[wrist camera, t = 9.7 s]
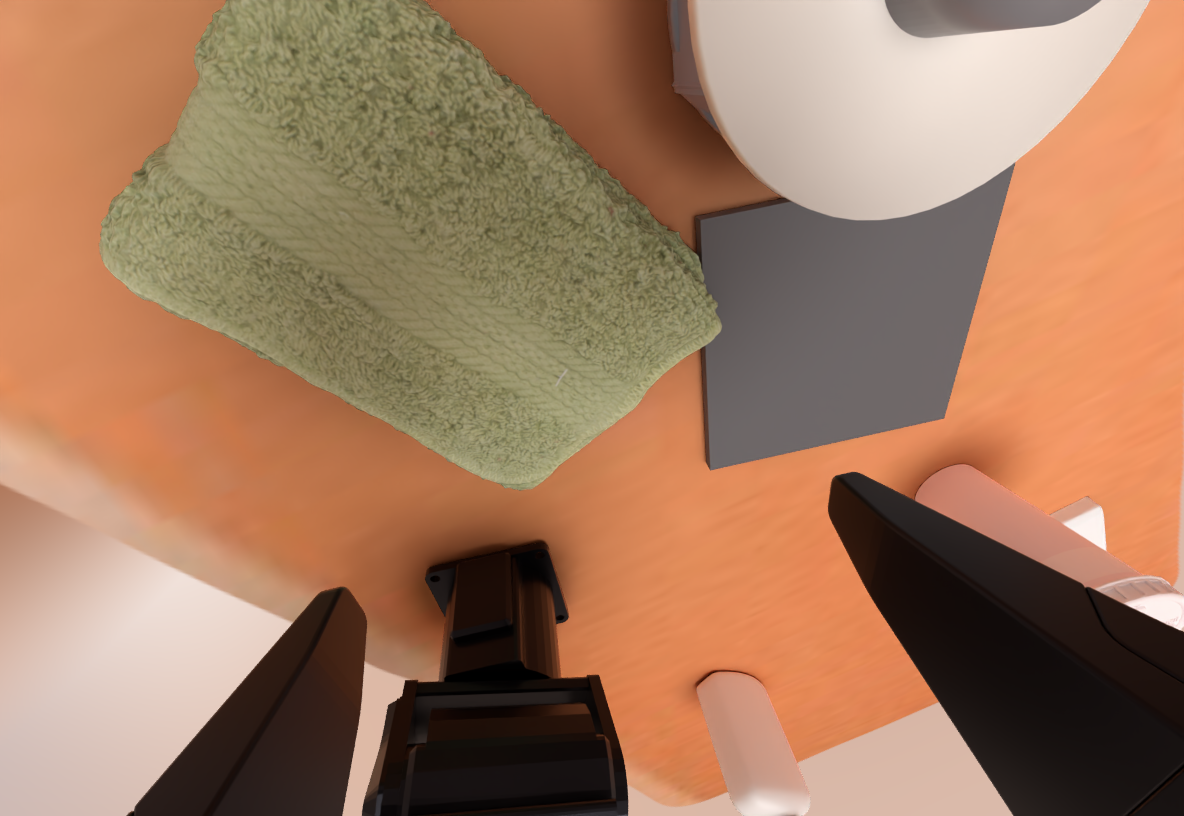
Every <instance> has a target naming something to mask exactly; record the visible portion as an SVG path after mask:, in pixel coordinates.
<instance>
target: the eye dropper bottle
mask: <svg viewBox="0 0 1184 816" xmlns="http://www.w3.org/2000/svg"><path fill="white" fill-rule="evenodd" d="M696 690H697V695H698V698H699V701H700V705H701V708H702V711H703V714H704V717H705V721H706V724H707V727H708V730H709V733H710V736H711V740H712V743H713V746H714V749H715V752H716V755H717V758H718V762H719V765H720V768H721V771H722V774H723V777H724V780H725V783H726V786H727V789H728V792H729V795H730V798H731V800H732V803H733V805H734V806H735V808H736V809H737V810H738V811H739V813H740V814H742V815H743V816H804V815H805V814H806V813H807V811H808V810H809V807H810V803H811V799H810V795H809V791H808V788H807V786H806V784H805V781H804V779H803V776H802V774H801V771H800V769H799V766H798V764H797V762H796V759H795V757H794V755H793V752H792V750H791V747H790V745H789V743H788V740H787V738H786V736H785V733H784V731H783V729H782V726H781V724H780V722H779V719H778V717H777V715H776V712H775V710H774V708H773V705H772V703H771V701H770V698H769V696H768V694H767V691H766V689H765V687H764V686H763V685H762V683H760V682H759V681H758V680H757V679H755V678H754V677H752V676H749V675H747V674H743V673H738V672H716V673H713V674H711V675H710V676H708V677H707V678H706V679H705V680H704V681H702V682H701V683H700V684H699V685H698V687H697V689H696Z"/></svg>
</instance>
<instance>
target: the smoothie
mask: <svg viewBox="0 0 1184 816" xmlns="http://www.w3.org/2000/svg"><path fill="white" fill-rule="evenodd" d="M915 501H917V502H919V503H921V504H923V505H925V506H927V507H929V508H931V509H933V510H935V511H937V512H939V513H941V514H943V515H945V516H947V517H949V518H951V519H953V520H955V521H957V522H959V523H961V524H963V525H965V526H968V527H970V528H972V529H974V530H976V531H978V532H980V533H982V534H984V535H986V536H988V537H990V538H992V539H994V540H996V541H998V542H1000V543H1002V544H1004V545H1006V546H1008V547H1010V548H1012V549H1014V550H1016V551H1018V552H1020V553H1022V554H1024V555H1026V556H1028V557H1030V558H1032V559H1034V560H1036V561H1038V562H1040V563H1042V564H1044V565H1046V566H1048V567H1050V568H1052V569H1054V570H1056V571H1058V572H1060V573H1062V574H1064V575H1066V576H1068V577H1070V578H1072V579H1075V580H1077V581H1079V582H1081V583H1082V584H1083V585H1084V587H1091V588H1093V589H1095V590H1097V591H1099V592H1101V593H1103V594H1105V595H1107V596H1109V597H1111V598H1113V599H1115V600H1117V601H1119V602H1121V603H1123V604H1126V605H1128V606H1130V607H1132V608H1134V609H1136V610H1138V611H1140V612H1142V613H1144V614H1147V615H1149V616H1151V617H1153V618H1155V619H1157V620H1159V621H1161V622H1163V623H1165V624H1167V625H1170V626H1172V627H1174V628H1176V629H1179V630H1181V629H1182V628H1183V626H1184V596H1183V595H1182V594H1181V593H1179V592H1178V591H1177V590H1175V589H1174V588H1173V587H1172V586H1170V583H1169V582H1167V581H1166V580H1164V579H1163V578H1161V577H1159V576H1151V575H1142V574H1141V573H1139V572H1138V571H1136V570H1135V569H1133V568H1131V567H1130V566H1128V565H1127V564H1125V563H1124V562H1122V561H1121V560H1119V559H1118V558H1116V557H1115V556H1113V555H1112V554H1110V553H1108V552H1107V551H1105V550H1104V549H1102V548H1100V547H1098V546H1097V545H1095V544H1094V543H1092V542H1091V541H1089V540H1087V539H1086V538H1084V537H1083V536H1081V535H1080V534H1078V533H1076V532H1075V531H1073V530H1072V529H1070V528H1068V527H1067V526H1065V525H1064V524H1062V523H1061V522H1059V521H1057V520H1056V519H1054V518H1053V517H1051V516H1049V515H1048V514H1046V513H1045V512H1043V511H1042V510H1040V509H1038V508H1037V507H1035V506H1034V505H1032V504H1031V503H1029V502H1027V501H1026V500H1024V499H1023V498H1021V497H1019V496H1018V495H1016V494H1015V493H1013V492H1012V491H1010V490H1008V489H1007V488H1005V487H1004V486H1002V485H1001V484H999V483H997V482H996V481H994V480H993V479H991V478H989V477H988V476H986V475H985V474H983V473H982V472H980V471H978V470H977V469H975V468H974V467H972V466H970V465H966V464H958V465H953V466H949V467H946V468H944V469H942V470H940V471H938V472H936V473H935V474H933V475H932V476H931V477H929V478H928V479H927V480H926V481H925V482H924V483H923V484H922V485H921V487H920V488H919V490H918V491H917V494H916V496H915Z"/></svg>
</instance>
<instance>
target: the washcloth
mask: <svg viewBox="0 0 1184 816" xmlns="http://www.w3.org/2000/svg"><path fill="white" fill-rule="evenodd" d="M195 49H196V54H195V58H194V63H195V66H196V69H197V71H198V73H199V78H198V83H197V86H196V87H195V88H194V89H193V91H192V93H191V95H190V96H189V98H188V101H187V105H186V106H185V108H184V109H183V111H182V114H181V116H180V118H179V120H178V123H177V128H176V130H175V131H174V133H173V134H172V137H171V139H170V142H169V143H168V144H165V145H163V146H161V147H159V148H158V149H157V150H155V151H154V153H153V154H151V155H150V156H148V158H147V159H146V160H145V162H144V164H143V167H142V169H140V170H139V171H137V172H135V173H133V174H132V179H133V182H132V183H130V185H129V186H126V188H125V189H124V190H123V191H122V192H121V193H120V194H119V195H117V196H116V197H114V199H113V200H112V202H111V204H110V207H109V212H108V214H107V216H106V217H105V218H104V219H103V221H102V223H101V226H102V231H101V234H100V235H101V240H100V243H99V247H100V254H101V257H102V260H103V262H104V264H105V266H106V268H107V269H108V270H109V271H110V272H111V273H112V274H113V275H114V276H115V277H116V278H117V279H119V280H120V281H122V282H123V283H124V284H125V285H126V286H127V288H128V289H129V290H130V291H132V292H133V293H134V294H136V295H137V296H139V297H140V298H142V299H143V300H148V301H153V302H156V303H158V304H159V305H160V306H161V307H162V308H163V309H164V310H166V311H168V312H170V313H172V314H174V315H176V316H178V317H179V318H182V319H188V320H192V321H195V322H197V323H199V324H202V325H203V326H205V327H207V328H209V329H211V330H215V331H218V332H219V333H221V334H223V335H224V336H225V337H228V338H230V339H232V340H234V341H236V342H237V343H239V344H240V345H242V346H244V347H246V348H248V349H249V350H251V351H253V352H255V353H256V354H257V355H258V357H259V358H263V359H267V360H269V361H271V362H272V363H274V364H275V365H277V366H284V367H286V368H287V369H289V370H291V371H292V372H294V373H295V374H297V375H299V376H300V377H302V378H303V379H305V380H306V381H308V382H309V383H310V384H312V385H314V386H316V387H319V388H321V389H323V390H325V391H328V392H331V393H333V394H335V395H336V396H338V397H340V398H341V399H342V400H344V401H345V402H346V403H348V404H351V405H353V406H355V407H356V408H357V409H358V410H361V411H365V412H367V413H368V414H369V415H371V416H375V417H377V418H379V419H381V420H383V421H385V422H387V423H389V424H391V425H392V426H393V427H394V428H395V429H396V430H400V431H401V432H403V433H405V434H408V435H410V436H412V437H413V438H414V439H416V440H417V441H419V442H420V443H421V444H423V445H424V446H426V447H428V449H432V450H433V451H434V452H436V453H438V454H440V455H442V456H443V457H445V458H446V460H447V461H449V462H453V463H455V464H456V465H457V466H459V467H461V468H464V469H465V470H467V471H469V472H471V473H473V474H475V475H478V476H480V477H481V478H482V479H487V480H491V481H493V482H496V483H498V484H501V485H502V486H503V487H504V488H512V489H514V490H515V489H517V490H524V489H533V488H534V487H536V486H537V485H539V484H540V483H541V482H543V481H544V480H545V479H546V478H547V477H549V476H550V475H551V474H552V473H553V471H554V470H555V469H556V468H557V467H558V466H559V465H561V464H562V463H563V462H565V461H566V460H567V459H569V458H570V457H571V456H573V455H574V454H575V453H576V452H579V450H580V449H582V448H583V447H584V446H585V445H586V444H589V443H590V442H591V441H592V440H593V439H594V438H595V437H597V436H598V435H600V434H601V433H602V432H603V431H605V430H607V429H608V428H609V427H611V426H612V425H614V424H615V423H616V422H617V421H618V420H620V419H621V418H623V417H624V416H626V415H627V414H628V413H629V412H631V411H632V410H633V409H634V408H635V407H636V406H637V405H638V404H639V403H640V401H641V400H642V398H643V396H644V395H645V393H646V392H647V390H648V389H649V388H650V387H651V386H652V385H653V384H654V383H655V382H656V381H657V380H658V379H659V378H660V377H661V376H662V375H663V374H665V373H666V372H667V371H668V370H669V369H671V368H672V367H673V366H674V365H676V364H677V363H678V362H679V361H681V360H682V359H683V358H685V357H687V356H688V355H690V354H692V353H693V352H695V351H697V350H699V349H700V348H702V347H704V346H705V345H707V344H708V343H710V342H711V341H712V340H713V339H714V338H715V336H716V335H718V334H719V333H720V331H721V329H722V324H721V321H720V318H719V317H718V316H717V314H716V312H715V309H716V308H717V307H718V306H717V304H718V303H717V302H716V301H715V300H714V299H713V298H712V295H711V294H708V292H707V290H706V285H705V283H703V281H704V275H703V273H702V269H701V262H700V261H699V257H698V255H697V254H696V253H695V252H693V251H692V249H691V248H689V247H688V246H687V245H686V244H685V243H684V242H683V240H682V239H681V238H680V236H679V234H680V233H679V232H674V231H669V230H667V229H668V227H667V226H663V225H661V224H660V223H659V222H658V221H657V220H655V218H654V217H653V216H652V215H651V214H650V211H649V210H648V208H647V206H645V205H644V204H642V203H641V202H640V201H639V200H638V199H636V198H635V196H634V195H631V194H629V193H628V192H627V191H626V190H625V188H624V187H623V186H622V185H621V184H620V181H619V180H617V179H614V178H612V177H611V176H610V175H609V173H608V170H606V169H604V168H598V166H597V165H596V164H595V163H594V161H593V158H592V156H591V155H589V154H588V153H587V151H586V150H585V149H583V148H582V147H580V146H579V145H578V143H576V142H574V141H573V139H572V138H571V137H570V136H569V135H568V134H567V133H566V131H565V130H564V128H563V127H562V126H561V125H557V124H556V122H555V121H554V120H552V119H550V115H544V113H543V110H542V108H541V107H538V108H536V106H535V104H534V103H533V102H532V100H531V97H530V95H529V94H527V93H526V92H525V91H524V90H523V88H522V87H521V86H520V85H515V84H514V83H513V82H512V81H511V80H510V79H509V77H508V76H507V75H504V76H499V75H498V74H497V72H496V71H495V69H494V67H493V66H492V65H490V64H489V63H488V61H487V60H486V59H485V58H484V54H483V53H482V51H481V50H479V49H478V48H476V47H475V46H474V45H473V44H472V43H471V42H470V41H468V40H464V39H463V38H461V37H460V36H457V35H456V32H455V31H454V29H452V28H451V26H450V23H449V22H448V21H446V20H444V19H443V17H442V16H441V15H440V14H439V13H438V12H437V11H434V10H433V9H431V7H430V6H429V5H428V3H427V2H425V1H424V0H226V3H225V5H224V6H223V8H222V9H221V10H219V11H217V12H215V13H214V14H213V20H212V22H211V23H210V24H208V26H207V29H206V31H205V32H204V34H203V35H202V37H201V40H200V41H199V42H198V44H197V45H196V46H195Z"/></svg>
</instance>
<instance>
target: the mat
mask: <svg viewBox="0 0 1184 816" xmlns="http://www.w3.org/2000/svg"><path fill="white" fill-rule="evenodd" d="M1014 166H1015V163H1013V164H1012V165H1011V166H1010V167H1008V168H1007V169H1005V170H1004V171H1002V172H1001V173H999V174H998V175H996V176H995V177H993V178H992V179H990V180H989V181H987V182H986V183H984V184H983V185H981V186H979V187H977V188H975V189H974V190H972V191H970V192H968V193H966V194H964V195H963V196H961V197H959V198H957V199H954V200H952V201H950V202H947V203H945V204H942V205H940V206H938V207H935V208H933V209H930V210H926V211H923V212H919V213H916V214H912V215H909V216H905V217H898V218H892V219H885V220H851V219H844V218H837V217H832V216H829V215H825V214H822V213H819V212H816V211H813V210H810V209H808V208H805V207H803V206H801V205H798V204H796V203H794V202H792V201H790V200H788V199H786V198H783V199H778V200H773V201H768V202H763V203H758V204H753V205H748V206H744V207H739V208H734V209H729V210H724V211H719V212H714V213H709V214H705V215H700V216H695V221H696V244H697V255H698V257H699V261H700V262H701V269H702V273H703V275H704V281H703V283H705V285H706V290H707V292H708V294H711V295H712V298H713V299H714V300H715V301H716V302H717V303H718V304H717V306H718V307H717V308H716V309H715V312H716V314H717V316H718V317H719V318H720V321H721V324H722V329H721V331H720V333H719V334H718V335H716V336H715V338H714V339H713V340H712V341H711V342H710V343H708V344H707V345H705V346H704V347H702V348H701V356H702V378H703V400H704V423H705V445H706V463H707V465H708V467H709V469H710V470H714V469H718V468H723V467H727V466H732V465H736V464H741V463H745V462H750V461H754V460H759V459H763V458H768V457H772V456H777V455H781V454H786V453H790V452H795V451H800V450H804V449H809V448H813V447H818V446H822V445H827V444H831V443H836V442H840V441H845V440H849V439H854V438H858V437H863V436H867V435H872V434H876V433H881V432H885V431H890V430H894V429H899V428H903V427H908V426H912V425H917V424H921V423H926V422H930V421H935V420H939V419H944V417H945V413H946V410H947V406H948V402H949V399H950V395H951V392H952V388H953V384H954V381H955V377H956V374H957V370H958V367H959V363H960V359H961V356H962V352H963V349H964V345H965V341H966V338H967V334H968V331H969V327H970V324H971V320H972V316H973V313H974V309H975V306H976V302H977V298H978V295H979V291H980V288H981V284H982V281H983V277H984V273H985V270H986V266H987V263H988V259H989V256H990V252H991V248H992V245H993V241H994V238H995V234H996V230H997V227H998V223H999V220H1000V216H1001V213H1002V209H1003V205H1004V202H1005V198H1006V195H1007V191H1008V187H1009V184H1010V180H1011V177H1012V173H1013V170H1014Z"/></svg>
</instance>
